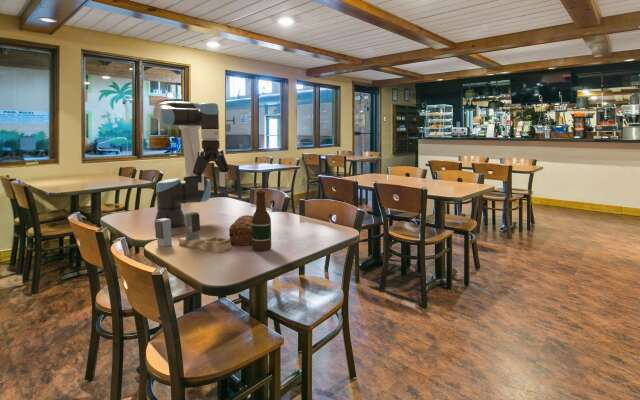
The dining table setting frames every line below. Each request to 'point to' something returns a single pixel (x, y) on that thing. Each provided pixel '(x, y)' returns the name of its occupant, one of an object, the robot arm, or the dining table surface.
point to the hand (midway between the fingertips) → (212, 188)
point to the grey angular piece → (200, 242)
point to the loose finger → (163, 231)
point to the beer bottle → (261, 225)
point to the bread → (241, 231)
